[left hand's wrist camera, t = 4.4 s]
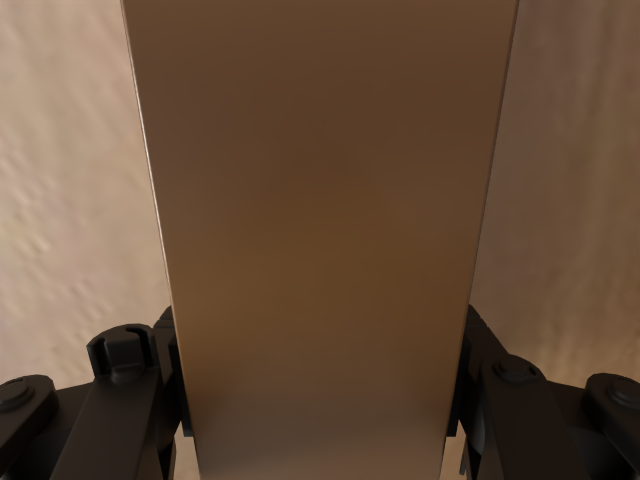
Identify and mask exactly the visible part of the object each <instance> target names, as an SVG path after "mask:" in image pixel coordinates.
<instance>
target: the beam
mask: <svg viewBox="0 0 640 480" xmlns="http://www.w3.org/2000/svg"><path fill="white" fill-rule="evenodd" d="M120 3H121V9H122V15H123V21H124V26H125V32H126V38H127V44H128V50H129V56H130V62H131V68H132V74H133V80H134V86H135V92H136V98H137V104H138V110H139V116H140V122H141V128H142V134H143V140H144V146H145V152H146V158H147V164H148V170H149V176H150V182H151V188H152V194H153V199H154V205H155V211H156V217H157V223H158V229H159V235H160V241H161V247H162V253H163V259H164V265H165V271H166V277H167V283H168V289H169V295H170V301H171V307H172V313H173V319H174V325H175V331H176V337H177V343H178V349H179V355H180V361H181V367H182V372H183V378H184V384H185V390H186V396H187V402H188V408H189V414H190V420H191V426H192V432H193V438H194V444H195V450H196V456H197V462H198V468H199V474H200V480H439V478H440V472H441V466H442V460H443V454H444V448H445V442H446V436H447V430H448V424H449V418H450V412H451V406H452V400H453V394H454V388H455V382H456V376H457V370H458V364H459V358H460V352H461V347H462V341H463V335H464V329H465V323H466V317H467V311H468V305H469V299H470V293H471V287H472V281H473V275H474V269H475V263H476V257H477V251H478V245H479V239H480V233H481V227H482V221H483V215H484V209H485V203H486V197H487V191H488V185H489V179H490V173H491V167H492V161H493V155H494V149H495V143H496V137H497V131H498V125H499V119H500V113H501V107H502V101H503V95H504V89H505V83H506V77H507V71H508V65H509V59H510V53H511V47H512V41H513V35H514V30H515V24H516V18H517V12H518V6H519V0H120Z"/></svg>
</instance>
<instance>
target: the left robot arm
mask: <svg viewBox="0 0 640 480" xmlns="http://www.w3.org/2000/svg"><path fill="white" fill-rule="evenodd" d="M86 347H87V351H88V354H89V358H90V361H91V365H92V369H93V372H94V376H95V379H94V381H93V382H91V383H87V384H83V385H78V386H74V387H69V388H65V389H60V390H55V387H54V384H53V380H51V379H50V378H49V377H48V376H44V375H29V376H23V377H19V378H17V379H13V380H10V381H7V382H6V383H4V384H2V385H0V480H173V477H174V468H175V460H176V444H175V439H174V435H175V433H176V430H177V428H178V426H179V424H180V421H181V422H182V428H183V433H184V437H193V432H192V426H191V420H190V414H189V408H188V402H187V396H186V390H185V384H184V378H183V372H182V367H181V361H180V355H179V349H178V343H177V337H176V331H175V325H174V319H173V313H172V307H171V306H169V307H168V308H167V309H166V310H165V311H164V313H163V314H162V315H161V317H160V319H159V320H158V321H157V322H156V323H155V325H154V326H153V328H151V327H149V326H148V325H143V324H126V325H121V326H117V327H114V328H111V329H109V330H106V331H104V332H102V333H100V334H99V335H97V336H96V337H94V338H93V339H92V340H91V341H90V342H89V343H88V345H87V346H86ZM459 420H460V422H461V425H462V427H463V429H464V431H465V434H466V439H465V444H464V449H463V454H462V459H461V465H460V471H459V474H460V475H464V473H465V468H466V476H467V480H640V383H638V382H636V381H634V380H632V379H630V378H627V377H624V376H620V375H616V374H608V373H599V374H593V375H592V376H590V377H589V378H588V380H587V383H586V386H585V389H583V388H578V387H574V386H569V385H564V384H560V383H555V382H551V381H548V380H546V378H545V376H544V375H543V374H542V372H541V371H540V369H539V368H537V367H536V366H535V365H533V364H532V363H531V362H529V361H527V360H525V359H523V358H521V357H518V356H515V355H511V354H508V352H507V351H506V350H505V348H504V347H503V346H502V344H501V343H500V342H499V340H498V339H497V338H496V337H495V335H494V334H493V333H492V331H491V330H490V329H489V327H487V325H486V323H485V322H484V321H483V319H481V318H480V315H479V314H478V313H477V311H476V310H475V309H474V308H473V306H471V305H470V304H469V305H468V311H467V317H466V323H465V329H464V335H463V341H462V347H461V352H460V358H459V364H458V370H457V376H456V382H455V388H454V394H453V400H452V406H451V412H450V418H449V424H448V430H447V436H446V437H456V432H457V426H458V421H459Z"/></svg>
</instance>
